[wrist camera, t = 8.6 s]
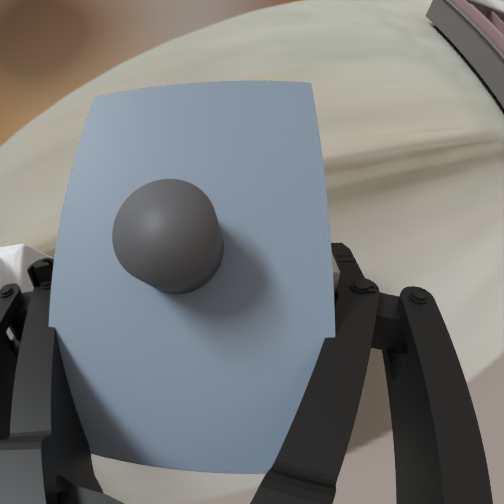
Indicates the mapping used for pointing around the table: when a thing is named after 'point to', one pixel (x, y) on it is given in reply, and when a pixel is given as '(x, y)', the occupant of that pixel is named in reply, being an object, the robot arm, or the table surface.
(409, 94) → the table surface
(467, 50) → the organizer tray
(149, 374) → the cover
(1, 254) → the medicine bottle
